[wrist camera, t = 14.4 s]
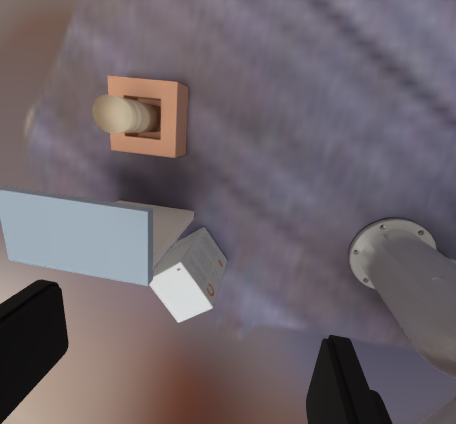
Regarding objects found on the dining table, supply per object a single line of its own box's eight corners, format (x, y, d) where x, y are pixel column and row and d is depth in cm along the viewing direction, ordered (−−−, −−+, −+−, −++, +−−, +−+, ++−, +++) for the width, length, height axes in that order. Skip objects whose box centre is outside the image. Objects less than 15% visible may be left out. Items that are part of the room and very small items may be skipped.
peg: (166, 106, 39) (125, 96, 28) (166, 133, 40) (126, 134, 29) (142, 103, 39) (91, 92, 28) (141, 130, 41) (93, 130, 29)
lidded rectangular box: (202, 175, 42) (147, 212, 23) (199, 219, 45) (147, 285, 26) (112, 163, 44) (-6, 189, 25) (114, 207, 47) (8, 260, 28)
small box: (176, 241, 47) (144, 280, 35) (204, 225, 45) (180, 260, 33) (201, 275, 48) (177, 324, 36) (228, 261, 47) (214, 308, 34)
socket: (188, 87, 39) (177, 81, 34) (185, 154, 42) (175, 157, 37) (126, 82, 40) (107, 75, 35) (128, 147, 43) (111, 150, 38)
